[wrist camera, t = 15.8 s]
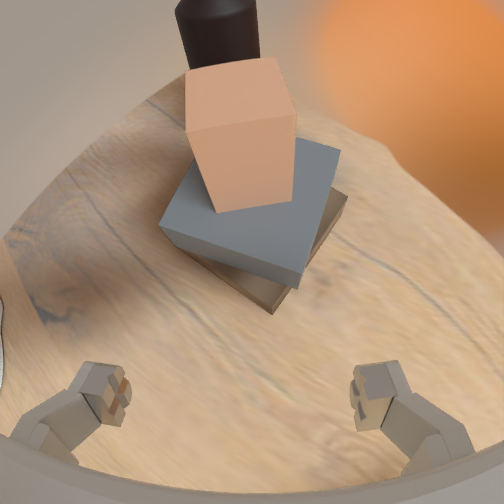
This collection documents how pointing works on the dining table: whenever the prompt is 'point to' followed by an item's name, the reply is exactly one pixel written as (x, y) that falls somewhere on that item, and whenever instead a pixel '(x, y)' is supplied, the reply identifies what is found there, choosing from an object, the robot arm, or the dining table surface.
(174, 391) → the dining table surface
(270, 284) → the tower base block
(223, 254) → the tower top block
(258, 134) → the terracotta block
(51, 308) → the dining table surface
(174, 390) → the dining table surface
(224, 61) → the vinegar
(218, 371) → the dining table surface
